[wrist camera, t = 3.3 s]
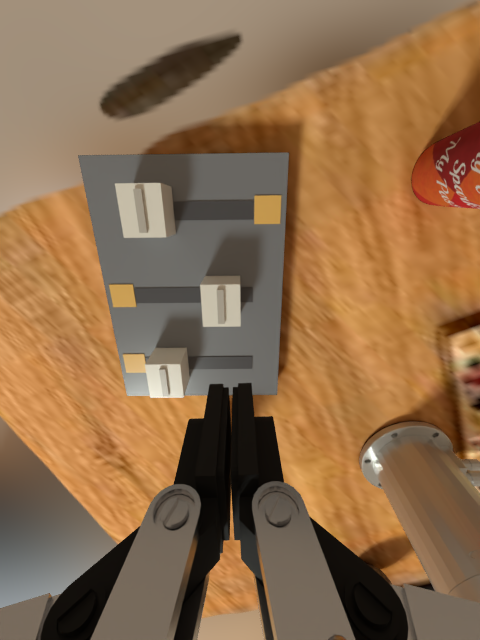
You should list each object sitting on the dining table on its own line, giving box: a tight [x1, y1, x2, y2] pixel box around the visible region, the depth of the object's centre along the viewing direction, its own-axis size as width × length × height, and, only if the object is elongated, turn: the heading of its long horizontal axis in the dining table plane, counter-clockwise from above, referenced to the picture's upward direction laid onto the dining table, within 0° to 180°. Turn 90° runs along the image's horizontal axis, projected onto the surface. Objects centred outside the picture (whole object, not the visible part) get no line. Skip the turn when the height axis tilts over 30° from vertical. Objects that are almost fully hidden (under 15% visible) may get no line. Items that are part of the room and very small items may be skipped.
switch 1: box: [115, 183, 176, 238], centre depth 23 cm, size 4×4×4 cm
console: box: [78, 153, 289, 396], centre depth 29 cm, size 18×25×3 cm
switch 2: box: [145, 348, 190, 398], centre depth 29 cm, size 4×4×4 cm
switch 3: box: [200, 276, 241, 327], centre depth 26 cm, size 4×4×4 cm
